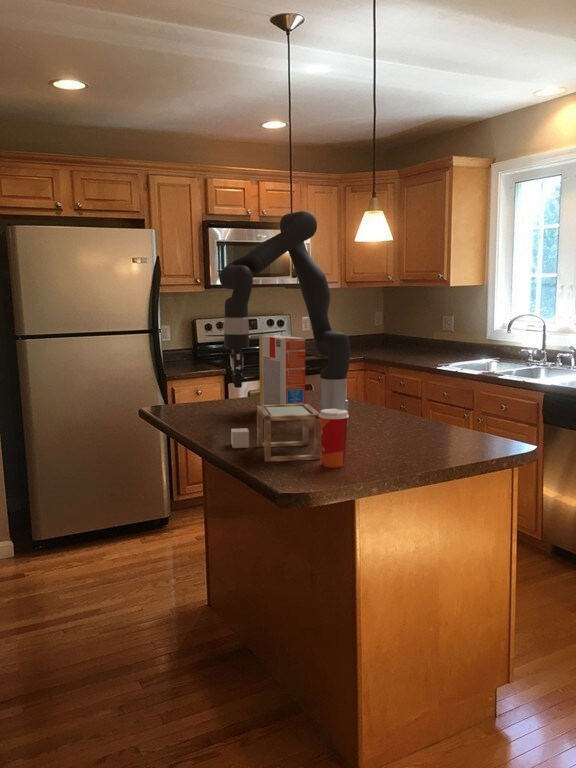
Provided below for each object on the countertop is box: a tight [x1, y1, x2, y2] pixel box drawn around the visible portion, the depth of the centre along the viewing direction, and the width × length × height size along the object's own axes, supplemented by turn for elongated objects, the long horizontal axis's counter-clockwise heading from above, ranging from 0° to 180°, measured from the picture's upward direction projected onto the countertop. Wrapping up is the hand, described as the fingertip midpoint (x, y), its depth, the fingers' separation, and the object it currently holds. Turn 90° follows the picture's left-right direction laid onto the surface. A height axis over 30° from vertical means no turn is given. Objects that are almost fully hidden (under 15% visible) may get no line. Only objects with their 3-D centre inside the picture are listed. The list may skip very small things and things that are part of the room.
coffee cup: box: [319, 409, 350, 469], centre depth 176 cm, size 8×8×15 cm
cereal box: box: [258, 334, 306, 405], centre depth 250 cm, size 23×8×30 cm, turn 27°
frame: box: [256, 403, 322, 463], centre depth 190 cm, size 16×19×13 cm
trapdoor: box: [266, 406, 310, 415], centre depth 189 cm, size 12×15×1 cm
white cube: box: [230, 427, 250, 449], centre depth 199 cm, size 5×5×5 cm
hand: (236, 385), depth 198 cm, fingers open, 8 cm apart
